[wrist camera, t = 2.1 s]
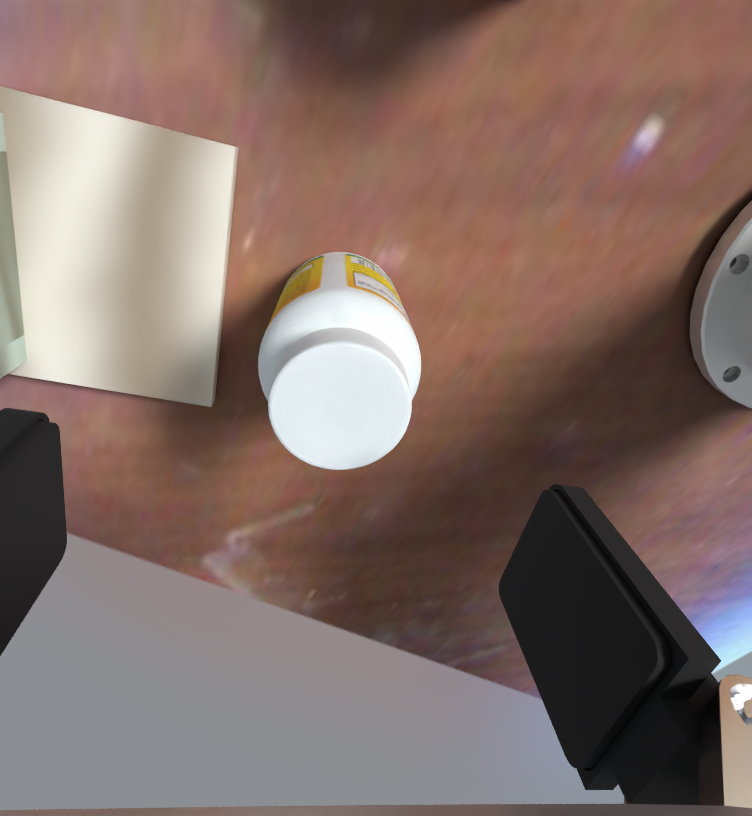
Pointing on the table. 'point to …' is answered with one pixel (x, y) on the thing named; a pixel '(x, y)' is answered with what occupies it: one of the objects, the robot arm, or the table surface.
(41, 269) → the bottle caddy
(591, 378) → the table surface
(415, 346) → the supplement bottle
